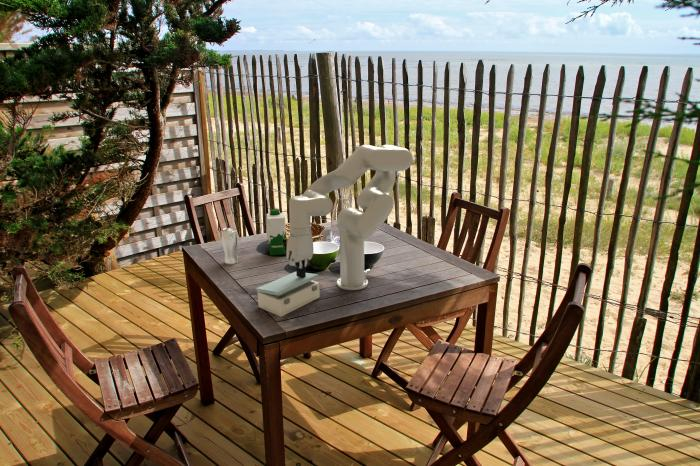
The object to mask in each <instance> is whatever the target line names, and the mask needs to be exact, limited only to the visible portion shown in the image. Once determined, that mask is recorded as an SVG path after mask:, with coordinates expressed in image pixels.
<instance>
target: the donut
mask: <svg viewBox="0 0 700 466" xmlns="http://www.w3.org/2000/svg"><path fill="white" fill-rule="evenodd" d="M331 228H332V227H325V228H324V229H322V231H321V232H320V234H321V235H323V238H322V241H329V240H328V239H327V237H328V236H329V235H330V231H331ZM320 234H319V235H320Z"/></svg>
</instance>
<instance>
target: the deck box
mask: <svg viewBox="0 0 700 466" xmlns="http://www.w3.org/2000/svg"><path fill="white" fill-rule="evenodd" d="M256 292H257V291H256ZM320 294H321V293H320V282H318V281H315V280H311V281H309V282H307V283H305V284H303V285H300V286H298V287H296V288H294V289H292V290H290V291H287V292H285V293H283V294H281V295H273V294H268V293H262V292H257V304H258V308H260V309H263V310H265V311H267V312H270V313H271V314H274V315H276V316H278V317H284V316H285V315H287V314H289V313H291V312H293V311H295V310H297V309H299V308H301V307H303V306H305V305H307V304H309V303H311V302H314V301H315V300H317V299H319V298H320V297H321V296H320Z"/></svg>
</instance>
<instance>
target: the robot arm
mask: <svg viewBox="0 0 700 466" xmlns="http://www.w3.org/2000/svg"><path fill="white" fill-rule="evenodd" d="M413 158H414V157H413V154H412V153H411V151H410V150H409V149H407V148H405V147H400V146H397V145H391V144H383V145H380V146H374V145H370V144H362V145H360V146H357V148H356V149H355V150H354V151H353V152H352V153H351V154H350V155H349V156H348V157H347V158H346V159H345V160H344V161H343V162H342V163H341V164H340V165H339V166H338V167H337V168H336V169H335V170H333V171H331V172H328V173H326V174H324V175H322V176H320V177H319V178H318V179H316V180H315V181H314V182H312V184H311V185H309V187H308V188H306V190H305V191H304V193H303V194H302V195H295V196H294V195H293V196H291V197H290V199H289V200H288V202H289V204H288V207H289V212H288V213H289V234H287V239H286V254H285V255H286V260H287V261H289V262H288V263H289V264H288V265H289V266H292V267H293V266H294V267H295V268H296V271H297V277H300V278H304V277H306V273H307V271H306V267H307V266H308V262H309V261H310V260H312V258H313V256H314V240H313V234H312V233H313V232H312V231H311V229H312V224H311V217H324V216H325V217H326V216H327V215H329V214H330V213H332V211H333V208H334V203H333V201H332V199H331V198H330V197H328V196H327V195H328V194H330V193H331V192H333V191H336V190H339V189H346V188H349V187H353V186H354V184H356V183H357V182H358V180H360V178H361V177H362V176H363V175H364V174H365V173H367V171H369V170H372V171H375V174H374V175H373V177H372V178H371V179H370V181H369V182H368V183H367V184H366V185H365V186H364V188H362V190H361V191H360V193H359V194H358V196H357V199H356V203H357V205H358V207H359V208H360V209H362V210H360V209H358V208H356V207H351V206H350V207H349V206H348V207H345V208H342V209H341V210H340V211H339V213H338V215H337V221H336V223H337V228H338V230H337V231H338V232H339V236H340V242H339V261H340V264H339V265H340V266H339V269H340V270H339V271H340V277H339V278H338V279H337V280H336V285H337V288H340V289H342V290H347V291H359V290H362V289H365V288H366V287H368V286H369V280H368V279H367V278H366V277H367V275H369V274H371V273H372V270H371V269H370V268H368V269H365V239H369V238H371V237H372V236H373V235H375V234H376V232H377V231H378V230H379V228H380V227H381V226H382V225H383V224H384V222H385V221H386V220H387V219H388V217H389V216H390V215H391V213H392V212H393V209H394V206H395V201H394V198H393V196H392V195H391V194H390V192H391V190H392V189H393V187H394V186H395V183H396V172H404V171H406V170H408V169H409V168H410V167H411V166H412V164H413V162H414V159H413Z"/></svg>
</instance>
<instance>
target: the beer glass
mask: <svg viewBox="0 0 700 466" xmlns="http://www.w3.org/2000/svg"><path fill="white" fill-rule="evenodd" d="M220 232H221V244H222V248H223V251H224V264H226V265H235V264H238V263H239V257H238V246H239V237H238V231H237V228H235V227H225V228H223V229H222V230H221V231H220Z"/></svg>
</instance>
